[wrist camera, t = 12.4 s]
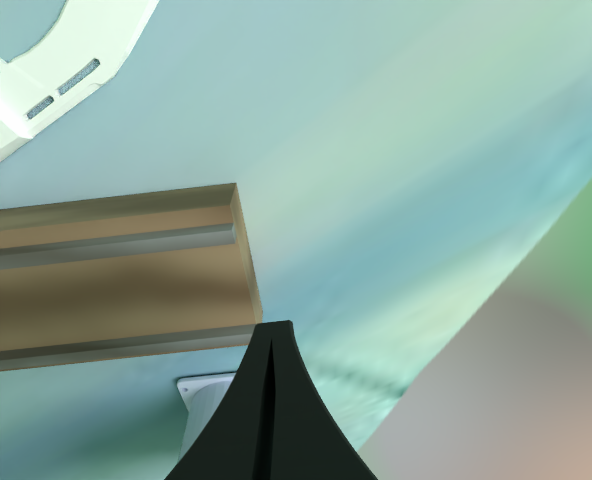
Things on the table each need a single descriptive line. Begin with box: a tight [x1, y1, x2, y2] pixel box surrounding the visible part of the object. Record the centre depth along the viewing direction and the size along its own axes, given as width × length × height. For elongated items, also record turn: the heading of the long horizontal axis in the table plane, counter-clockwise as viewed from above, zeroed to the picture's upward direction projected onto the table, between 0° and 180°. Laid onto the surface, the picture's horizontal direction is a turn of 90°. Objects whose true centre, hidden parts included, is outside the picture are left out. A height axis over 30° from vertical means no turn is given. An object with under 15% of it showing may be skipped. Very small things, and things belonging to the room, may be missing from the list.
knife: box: [0, 0, 159, 162], centre depth 15 cm, size 30×2×8 cm
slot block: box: [0, 183, 263, 371], centre depth 21 cm, size 10×22×4 cm, turn 96°
